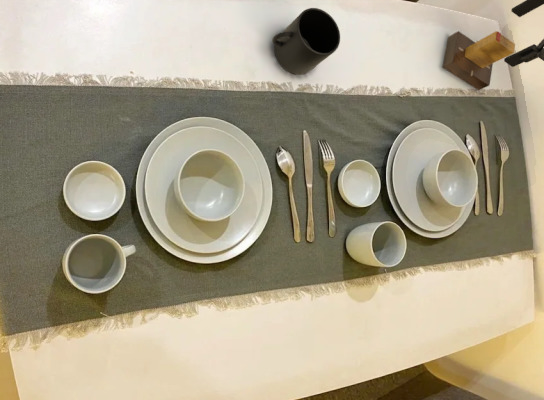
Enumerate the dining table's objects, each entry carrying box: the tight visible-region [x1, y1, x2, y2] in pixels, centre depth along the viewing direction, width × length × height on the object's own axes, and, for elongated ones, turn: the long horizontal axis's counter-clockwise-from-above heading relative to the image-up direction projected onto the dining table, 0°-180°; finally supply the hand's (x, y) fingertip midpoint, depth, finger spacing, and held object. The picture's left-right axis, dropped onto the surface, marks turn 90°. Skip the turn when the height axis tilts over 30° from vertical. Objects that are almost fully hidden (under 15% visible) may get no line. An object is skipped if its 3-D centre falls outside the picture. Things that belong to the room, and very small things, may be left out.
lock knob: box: [465, 30, 516, 68], centre depth 109 cm, size 6×2×8 cm, turn 70°
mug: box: [271, 7, 341, 76], centre depth 91 cm, size 9×12×9 cm
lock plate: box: [442, 30, 494, 91], centre depth 114 cm, size 12×10×3 cm
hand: (511, 37), depth 103 cm, fingers open, 13 cm apart
